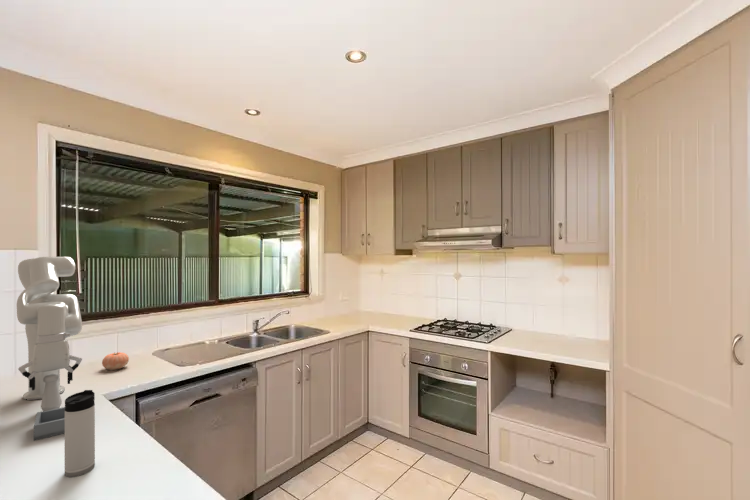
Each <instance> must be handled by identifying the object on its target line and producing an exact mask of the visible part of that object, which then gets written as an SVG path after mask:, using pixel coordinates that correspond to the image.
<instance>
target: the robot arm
mask: <svg viewBox="0 0 750 500" xmlns="http://www.w3.org/2000/svg"><path fill="white" fill-rule="evenodd" d="M75 272H76V263H75V261H74V259H73V258H72V257H71V256H40V257H36V258H34V257H33V258H27V259H24V260H22V261H20V262H19V263H18V266H17V273H18V274H17V275H18V278H19V281H20V283H21V284H22V287H24V290H23V291H21V293H20V294H19V295H18V297H17V300H16V316H17V321H18V322H19V323H20V324H22V325H24V326H25V327H24V329H25V334H26V335H25V336H26V340H27V349H28V350H27V351H28V353H27V354H28V356H27V357H28V360H27V361H28V362H27V363H25V364H23V365H20V366H19V367H18V368H17V369H18V372H20V373H21V374H22V376H23V377H25V378H27V380H28V383H27V384H28V390H27V391H26V392H25V393H24V394H23V395H22V399H24V400H26V399H27V400H29V401H31V400H32V401H33V400H42V397H43V393H44V388H45V382H43V379H44V377H45V376H46V375H49V374H58V375H59V379H58V380H57V385H58V389H59V393H60V394H62V393H63V392H64V391H65V390H66V387H65V386H63V385H61V370H62V369H65V370H66V371H67V384H68V385H69V384H71V382H72V381H73V380H74V379H73V372H74V371H75V370H76V369H77V368H78V367H79V365H80V364H81V363H82V361H83V358H82V357H79V356H75V355H71V352H70V345H69V340H68V339H67V338H70V337H73V336H77V335H79V334H80V333H81V332H82V330H83V320H82V314H81V310H80V303H79V300H78V297H77V295H75V294H71V293H63V294H60V293H59V294H56V291H58V290H59V288H60V280H59V278H63V277H72V276H74V274H75ZM71 361H75V364H73V365H72V366H71V365H70V363H71ZM27 368H28V370H26V369H27Z"/></svg>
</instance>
